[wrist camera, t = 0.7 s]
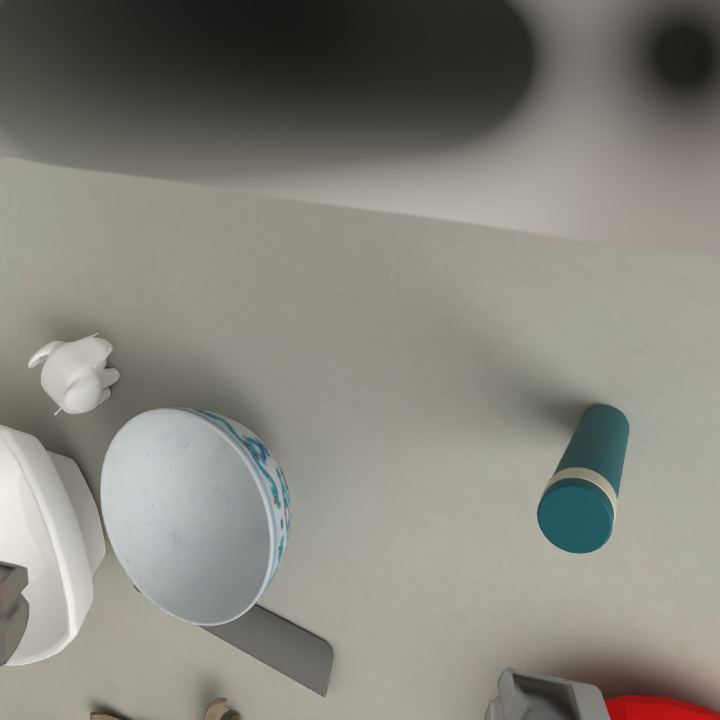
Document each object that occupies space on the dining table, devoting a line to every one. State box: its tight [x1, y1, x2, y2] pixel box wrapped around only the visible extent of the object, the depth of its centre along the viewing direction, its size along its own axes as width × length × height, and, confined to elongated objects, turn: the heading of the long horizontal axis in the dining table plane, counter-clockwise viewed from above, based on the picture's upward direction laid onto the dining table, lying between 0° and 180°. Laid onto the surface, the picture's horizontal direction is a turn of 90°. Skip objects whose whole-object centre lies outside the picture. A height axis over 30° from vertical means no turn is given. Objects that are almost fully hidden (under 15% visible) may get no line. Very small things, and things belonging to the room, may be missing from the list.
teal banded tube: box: [537, 405, 629, 553], centre depth 28 cm, size 3×3×14 cm
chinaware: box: [100, 407, 291, 626], centre depth 43 cm, size 15×15×8 cm
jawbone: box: [90, 698, 241, 720], centre depth 54 cm, size 9×20×2 cm, turn 117°
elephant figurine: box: [28, 333, 120, 415], centre depth 49 cm, size 7×8×6 cm
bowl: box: [0, 425, 106, 666], centre depth 53 cm, size 21×21×9 cm
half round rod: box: [134, 585, 333, 697], centre depth 48 cm, size 4×20×2 cm, turn 79°
